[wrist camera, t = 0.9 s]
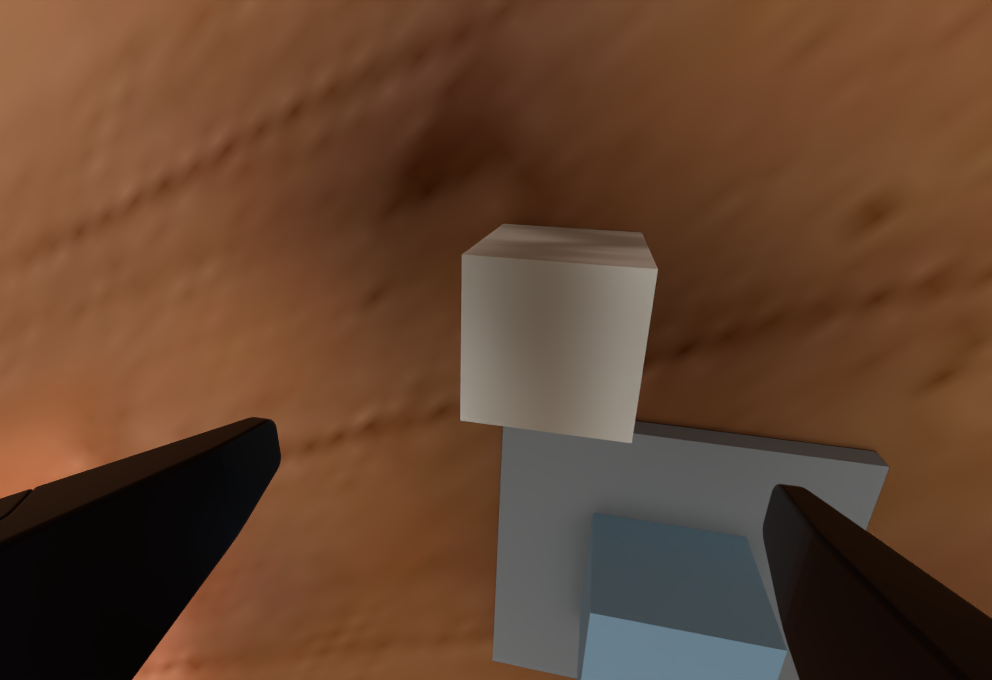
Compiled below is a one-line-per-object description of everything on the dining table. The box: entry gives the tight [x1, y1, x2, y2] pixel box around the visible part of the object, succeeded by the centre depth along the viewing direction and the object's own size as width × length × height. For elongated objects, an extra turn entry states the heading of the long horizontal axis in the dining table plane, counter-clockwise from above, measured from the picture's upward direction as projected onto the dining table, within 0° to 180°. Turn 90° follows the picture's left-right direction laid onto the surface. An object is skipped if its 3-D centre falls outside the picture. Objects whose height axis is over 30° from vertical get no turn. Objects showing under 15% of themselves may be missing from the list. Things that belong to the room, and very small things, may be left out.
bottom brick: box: [577, 513, 787, 680], centre depth 20 cm, size 6×6×5 cm
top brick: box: [460, 224, 658, 443], centre depth 17 cm, size 5×5×6 cm
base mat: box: [493, 421, 889, 680], centre depth 22 cm, size 14×14×1 cm
